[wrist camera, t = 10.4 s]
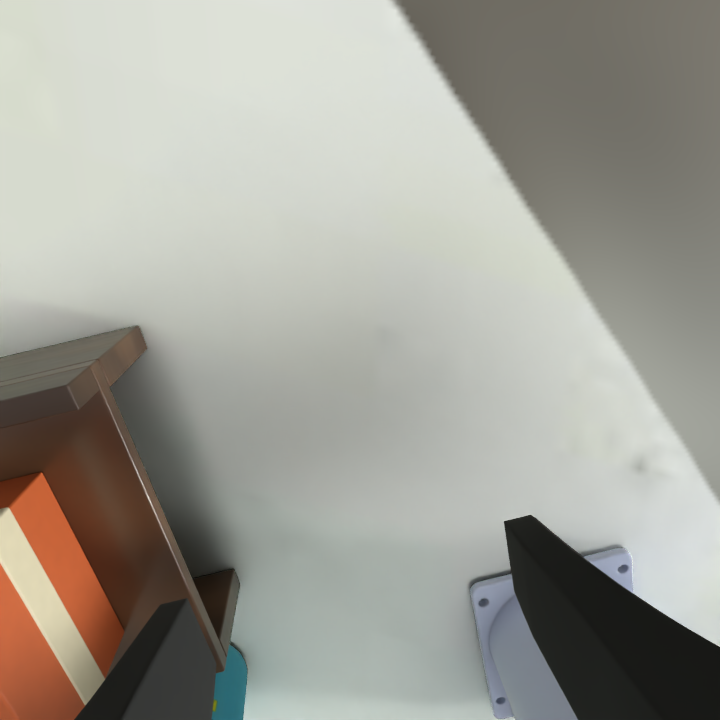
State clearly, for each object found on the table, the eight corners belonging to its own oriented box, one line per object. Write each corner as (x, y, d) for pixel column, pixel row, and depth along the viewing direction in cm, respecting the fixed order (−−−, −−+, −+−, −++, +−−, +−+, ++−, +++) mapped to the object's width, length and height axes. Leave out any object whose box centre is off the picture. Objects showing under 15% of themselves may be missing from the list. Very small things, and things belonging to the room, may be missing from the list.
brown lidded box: (240, 584, 24) (218, 710, 18) (52, 629, 24) (-29, 770, 18) (138, 324, 19) (67, 384, 14) (-93, 379, 19) (-263, 462, 14)
